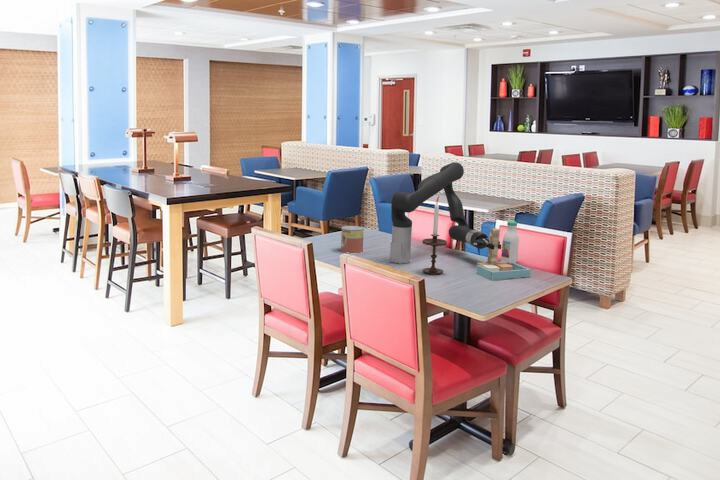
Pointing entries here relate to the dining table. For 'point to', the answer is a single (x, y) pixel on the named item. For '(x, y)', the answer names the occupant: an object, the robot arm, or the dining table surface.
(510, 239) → the milk bottle
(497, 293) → the dining table surface
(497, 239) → the wooden tower
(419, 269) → the dining table surface
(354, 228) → the canned food
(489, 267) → the tile cream
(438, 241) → the candlestick
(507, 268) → the tile terracotta
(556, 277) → the dining table surface
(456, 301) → the dining table surface
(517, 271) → the box
